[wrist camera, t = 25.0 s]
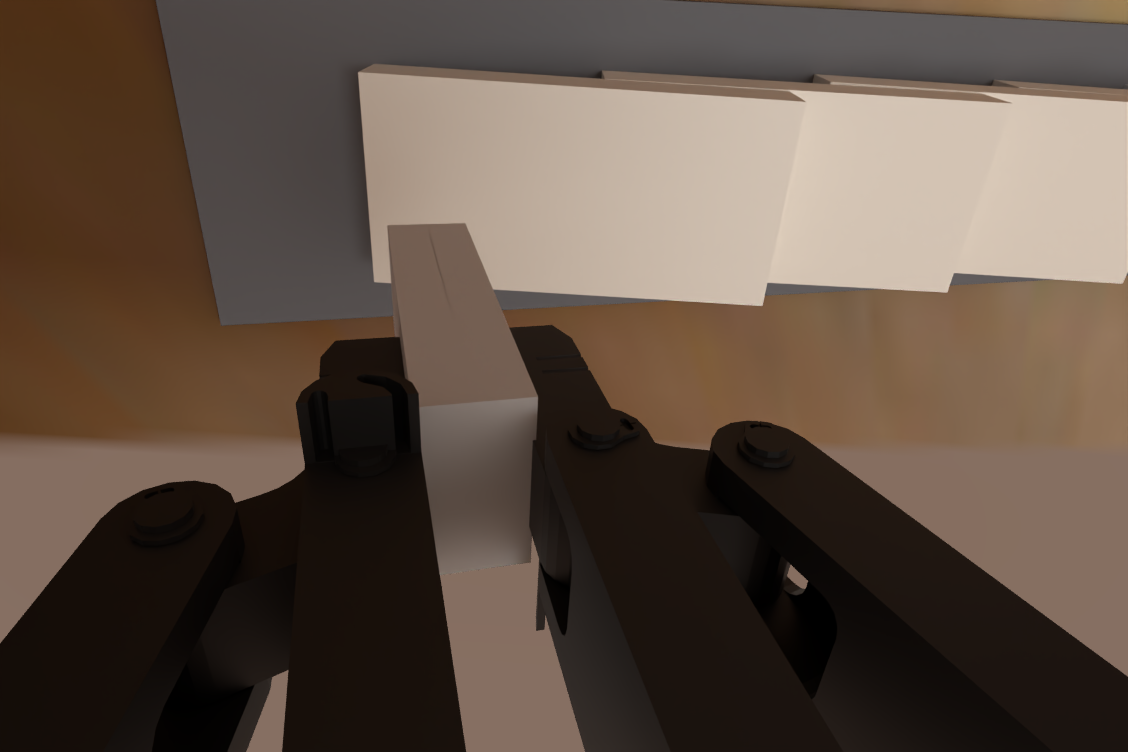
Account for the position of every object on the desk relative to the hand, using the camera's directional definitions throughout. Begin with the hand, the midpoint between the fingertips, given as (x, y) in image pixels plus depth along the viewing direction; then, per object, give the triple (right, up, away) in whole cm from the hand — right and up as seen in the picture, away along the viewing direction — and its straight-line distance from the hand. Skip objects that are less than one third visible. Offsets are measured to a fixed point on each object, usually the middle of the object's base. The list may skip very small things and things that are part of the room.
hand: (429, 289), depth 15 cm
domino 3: (+11, +5, +10) cm, 16 cm away
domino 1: (-3, +4, +7) cm, 9 cm away
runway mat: (+10, +6, +11) cm, 16 cm away
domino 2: (+4, +5, +9) cm, 10 cm away
